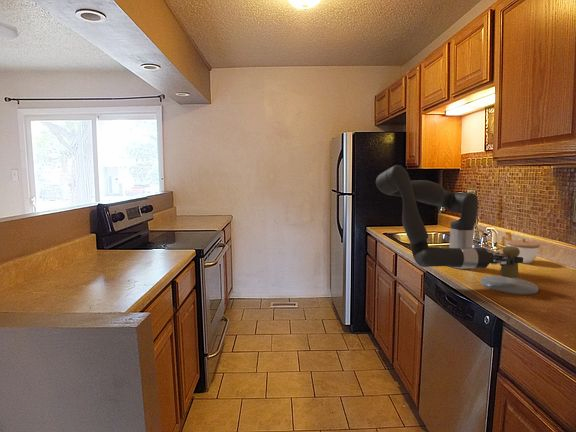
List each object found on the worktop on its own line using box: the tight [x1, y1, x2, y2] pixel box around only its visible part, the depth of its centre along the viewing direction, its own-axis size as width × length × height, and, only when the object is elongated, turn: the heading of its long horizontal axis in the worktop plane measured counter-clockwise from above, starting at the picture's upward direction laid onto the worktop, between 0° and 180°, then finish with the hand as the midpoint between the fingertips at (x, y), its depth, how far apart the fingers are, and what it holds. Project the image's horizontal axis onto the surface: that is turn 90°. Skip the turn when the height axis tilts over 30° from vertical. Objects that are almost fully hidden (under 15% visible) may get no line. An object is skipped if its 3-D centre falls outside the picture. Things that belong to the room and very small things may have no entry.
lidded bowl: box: [507, 238, 541, 264], centre depth 164 cm, size 13×13×11 cm
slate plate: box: [480, 275, 539, 296], centre depth 129 cm, size 18×18×1 cm
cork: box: [499, 245, 520, 279], centre depth 128 cm, size 6×6×11 cm
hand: (518, 258), depth 127 cm, fingers closed on cork, 4 cm apart
